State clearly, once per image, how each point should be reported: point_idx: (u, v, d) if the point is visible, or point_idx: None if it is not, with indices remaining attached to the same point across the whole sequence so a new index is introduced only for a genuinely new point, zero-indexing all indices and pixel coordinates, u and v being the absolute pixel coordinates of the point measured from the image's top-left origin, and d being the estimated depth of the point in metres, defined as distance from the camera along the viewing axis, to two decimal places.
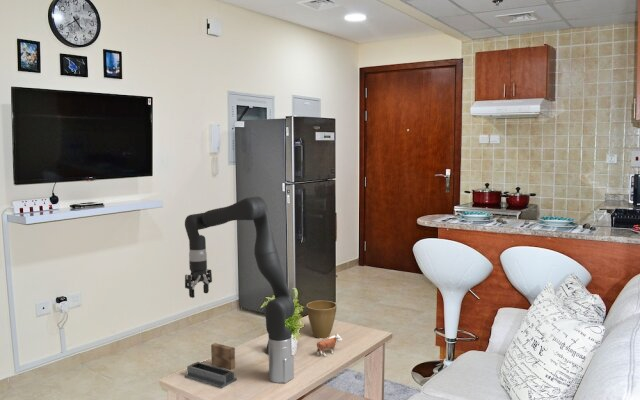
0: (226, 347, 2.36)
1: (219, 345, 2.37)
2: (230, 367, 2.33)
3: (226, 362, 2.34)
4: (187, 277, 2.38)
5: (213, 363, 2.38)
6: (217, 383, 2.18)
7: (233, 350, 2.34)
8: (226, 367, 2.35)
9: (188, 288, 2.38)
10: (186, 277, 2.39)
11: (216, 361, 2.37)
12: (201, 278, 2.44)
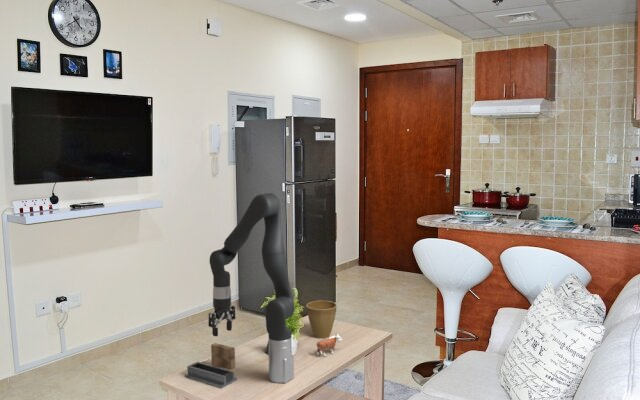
0: (226, 347, 2.36)
1: (219, 345, 2.37)
2: (230, 367, 2.33)
3: (226, 362, 2.34)
4: (211, 315, 2.29)
5: (213, 363, 2.38)
6: (217, 383, 2.18)
7: (233, 350, 2.34)
8: (226, 367, 2.35)
9: (212, 327, 2.29)
10: (210, 315, 2.29)
11: (216, 361, 2.37)
12: (225, 315, 2.35)
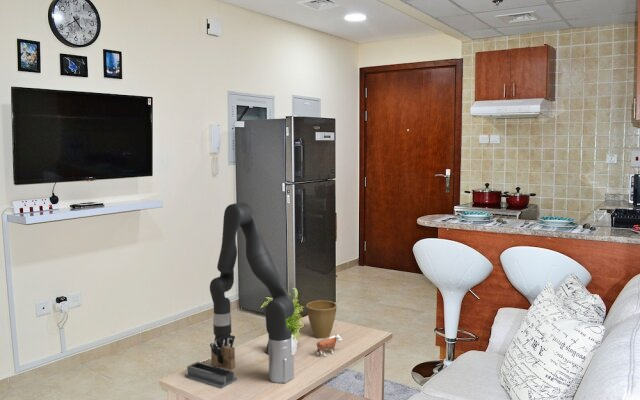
0: (226, 346, 2.36)
1: None
2: (230, 367, 2.33)
3: (226, 362, 2.34)
4: (213, 347, 2.31)
5: (213, 363, 2.38)
6: (217, 383, 2.18)
7: (233, 350, 2.34)
8: (226, 367, 2.35)
9: (217, 354, 2.33)
10: (211, 346, 2.31)
11: (216, 361, 2.37)
12: (225, 342, 2.36)
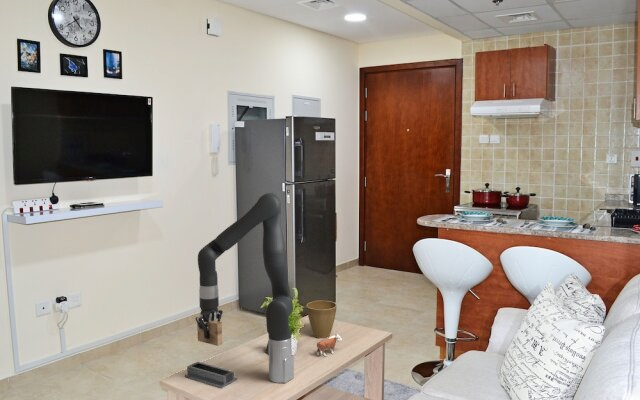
0: (213, 321, 2.22)
1: None
2: (217, 342, 2.20)
3: (212, 337, 2.21)
4: (198, 320, 2.17)
5: (199, 339, 2.25)
6: (217, 383, 2.18)
7: (220, 324, 2.20)
8: (212, 343, 2.21)
9: (203, 329, 2.19)
10: (197, 320, 2.18)
11: (202, 337, 2.24)
12: (212, 316, 2.23)
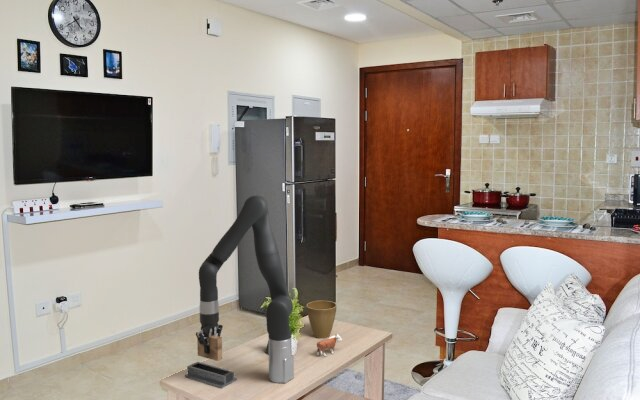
0: (213, 336, 2.23)
1: None
2: (217, 357, 2.20)
3: (212, 352, 2.21)
4: (198, 336, 2.18)
5: (199, 353, 2.25)
6: (217, 383, 2.18)
7: (220, 340, 2.21)
8: (213, 357, 2.22)
9: (203, 344, 2.20)
10: (197, 336, 2.18)
11: (202, 351, 2.24)
12: (212, 331, 2.23)
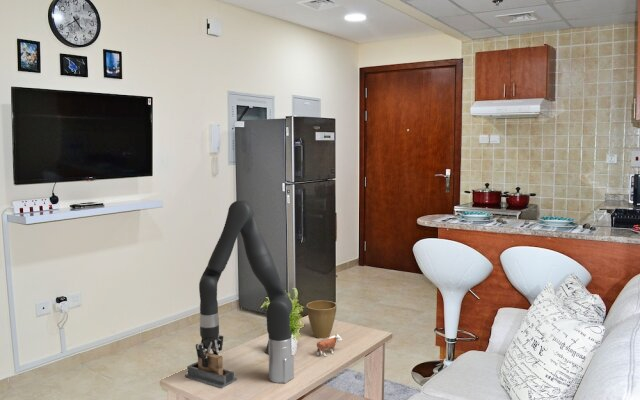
0: (213, 355, 2.23)
1: None
2: None
3: (213, 372, 2.22)
4: (198, 348, 2.18)
5: None
6: (217, 383, 2.18)
7: (221, 359, 2.22)
8: None
9: (201, 358, 2.19)
10: (197, 347, 2.18)
11: None
12: (213, 344, 2.24)
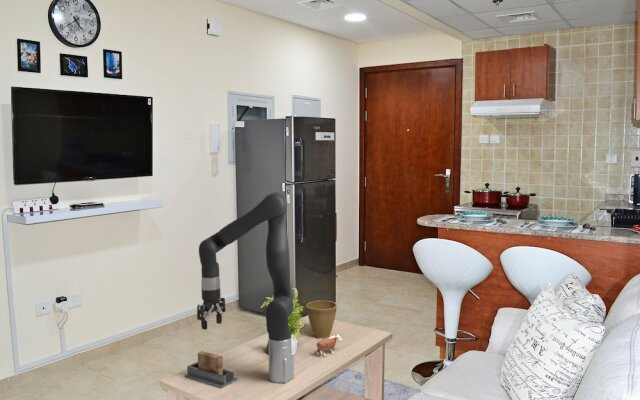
0: (213, 355, 2.23)
1: (206, 353, 2.25)
2: None
3: (213, 372, 2.22)
4: (199, 308, 2.19)
5: None
6: (217, 383, 2.18)
7: (221, 359, 2.22)
8: None
9: (201, 320, 2.19)
10: (198, 307, 2.19)
11: None
12: (214, 308, 2.25)
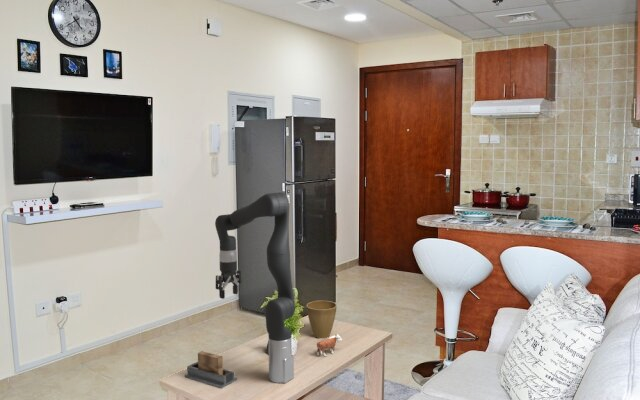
0: (213, 355, 2.23)
1: (206, 353, 2.25)
2: None
3: (213, 372, 2.22)
4: (218, 278, 2.37)
5: None
6: (217, 383, 2.18)
7: (221, 359, 2.22)
8: None
9: (219, 289, 2.37)
10: (217, 278, 2.38)
11: None
12: (231, 279, 2.43)
